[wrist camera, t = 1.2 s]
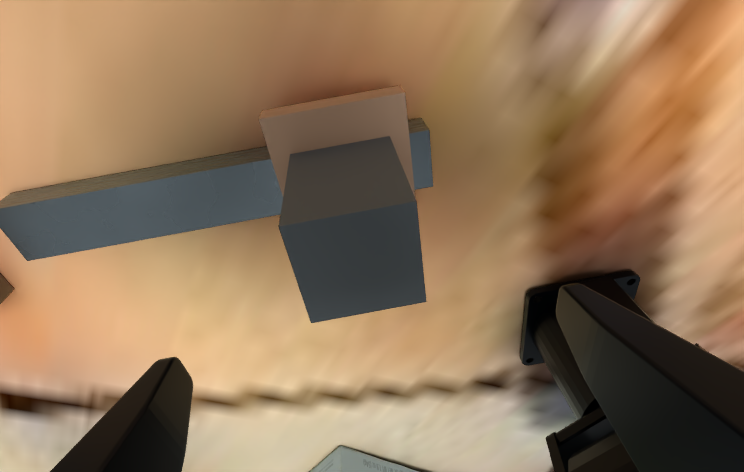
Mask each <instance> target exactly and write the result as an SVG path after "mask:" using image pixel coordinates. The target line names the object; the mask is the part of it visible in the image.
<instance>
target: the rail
mask: <svg viewBox="0 0 744 472" xmlns="http://www.w3.org/2000/svg"><path fill="white" fill-rule="evenodd" d="M408 128H409V138H410V148H411V158H412V169H413V179H414V189H415V190H416V189H421V188H427V187H432V186H433V177H432V162H431V147H430V133H429V129H428V127H427V126H426V124H425V123H424V121H423V120H422V118H418V119H413V120H408ZM282 202H283V195H282V192H281V189H280V186H279V183H278V179H277V176H276V173H275V170H274V167H273V164H272V160H271V157H270V154H269V151H268V148H267V146H265V147H260V148H254V149H249V150H243V151H238V152H232V153H227V154H221V155H216V156H210V157H205V158H200V159H194V160H189V161H183V162H178V163H172V164H167V165H161V166H156V167H150V168H145V169H139V170H134V171H128V172H123V173H117V174H112V175H107V176H101V177H96V178H90V179H85V180H79V181H74V182H68V183H63V184H57V185H52V186H46V187H41V188H35V189H30V190H25V191H19V192H14V193H10V194H9V195H8V196H6V197H5V198H4V199H2V200H1V201H0V228H1V229H2V231H3V232H4V233H5V234H6V236H7V237H8V238H9V239H10V240H11V242H12V243H13V244H14V245H15V247H16V248H17V249H18V250H19V251H20V253H21V254H22V255H23V256H24V258H25V259H26V260H27V261H30V260H35V259H41V258H46V257H52V256H57V255H62V254H68V253H73V252H79V251H84V250H90V249H95V248H101V247H106V246H111V245H117V244H122V243H128V242H133V241H139V240H144V239H149V238H155V237H160V236H166V235H171V234H177V233H182V232H187V231H193V230H198V229H204V228H209V227H215V226H220V225H226V224H231V223H236V222H242V221H247V220H253V219H258V218H264V217H269V216H274V215H280V214H281V208H282Z"/></svg>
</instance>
